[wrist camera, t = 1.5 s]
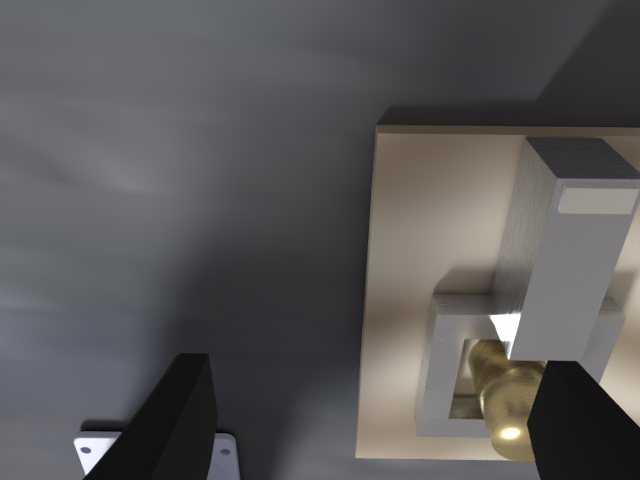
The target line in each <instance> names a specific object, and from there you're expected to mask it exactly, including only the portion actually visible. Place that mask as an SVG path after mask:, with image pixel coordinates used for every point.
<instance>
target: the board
mask: <svg viewBox="0 0 640 480" xmlns="http://www.w3.org/2000/svg"><path fill="white" fill-rule="evenodd" d="M525 137H532V138H602V139H603V140H604V141H605V142H606V143H608V144H609V145H610V146H611V147H612V148H613V149H614V150H615V151H616V152H618V153H619V154H620V155H621V156H622V157H623V158H624V159H625V160H626V161H628V162H629V163H630V164H631V165H632V166H633V167H634V168H635V169H636V170H638V171H639V172H640V128H626V127H540V126H453V125H376V131H375V146H374V161H373V177H372V192H371V207H370V222H369V237H368V253H367V268H366V283H365V298H364V313H363V329H362V344H361V359H360V374H359V389H358V405H357V420H356V435H355V456H356V458H394V459H460V460H509V459H507V458H504V457H502V456H501V455H499V454H498V453H497V452H496V451H495V450H494V448H493V446H492V443H491V440H490V438H465V437H417V433H416V426H415V420H414V409H415V402H416V395H417V389H418V382H419V375H420V368H421V362H422V355H423V348H424V342H425V335H426V328H427V322H428V315H429V308H430V302H431V295H432V294H444V295H490V291H491V286H492V282H493V277H494V273H495V268H496V264H497V259H498V255H499V250H500V246H501V241H502V237H503V232H504V228H505V223H506V219H507V214H508V210H509V205H510V201H511V196H512V192H513V187H514V183H515V178H516V174H517V169H518V165H519V160H520V156H521V151H522V147H523V142H524V138H525ZM605 297H613V299H614V300H615V302H616V303H617V305H618V306H619V307H620V309H621V310H622V312H623V313H624V315H625V316H626V319H625V321H624V324H623V326H622V329H621V331H620V334H619V336H618V339H617V341H616V344H615V346H614V349H613V351H612V353H611V356H610V358H609V361H608V363H607V366H606V368H605V371H604V373H603V376H602V378H601V381H600V383H599V385H600V386H601V387H602V388H603V389H604V390H605V391H606V392H607V393H608V394H609V396H610V397H611V398H612V399H613V400H614V401H615V402H616V403H617V404H618V405H619V406H620V407H621V408H622V409H623V410H624V411H625V412H626V413H627V414H628V416H629V417H630V418H631V419H632V420H633V421H634V422H635V423H636V424H637V425H638V426H639V427H640V201H639V204H638V207H637V210H636V212H635V215H634V218H633V220H632V223H631V226H630V229H629V231H628V234H627V237H626V240H625V242H624V245H623V248H622V250H621V253H620V256H619V259H618V261H617V264H616V267H615V269H614V272H613V275H612V278H611V280H610V283H609V286H608V288H607V291H606V294H605ZM480 340H481V339H464V343H463V348H462V353H461V358H460V363H459V368H458V373H457V378H456V383H455V388H454V393H453V397H469V398H478V396H477V393H476V389H475V386H474V383H473V379H472V376H471V372H470V369H469V366H468V355H469V353H470V351H471V349H472V347H473V346H474V345H475V344H476V343H477V342H478V341H480ZM546 364H547V361H546Z"/></svg>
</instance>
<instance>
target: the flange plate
mask: <svg viewBox="0 0 640 480" xmlns="http://www.w3.org/2000/svg"><path fill="white" fill-rule="evenodd" d="M639 201H640V172H639V171H638V170H636V169H635V168H634V167H633V166H632V165H631V164H630V163H629V162H628V161H626V160H625V159H624V158H623V157H622V156H621V155H620V154H619V153H618V152H616V151H615V150H614V149H613V148H612V147H611V146H610V145H609V144H608V143H606V142H605V141H604V140H603V139H602V138H532V137H525V138H524V142H523V147H522V151H521V156H520V160H519V165H518V169H517V174H516V178H515V183H514V187H513V192H512V196H511V201H510V205H509V210H508V214H507V219H506V223H505V228H504V232H503V237H502V241H501V246H500V250H499V255H498V259H497V264H496V268H495V273H494V277H493V282H492V286H491V291H490V295H444V294H432V295H431V302H430V308H429V315H428V322H427V328H426V335H425V342H424V348H423V355H422V362H421V368H420V375H419V382H418V389H417V395H416V402H415V409H414V420H415V426H416V433H417V437H465V438H490V437H489V433H488V430H487V426H486V423H485V420H484V416H483V413H482V410H481V406H480V403H479V399H478V398H469V397H453V393H454V388H455V383H456V378H457V373H458V368H459V363H460V358H461V353H462V348H463V343H464V339H497V340H501V342H502V345H503V347H504V350H505V352H506V355H507V358H508V360H521V361H548V360H557V361H577V362H578V363H579V364H580V365H581V366H582V367H583V368H584V369H585V370H586V371H587V372H588V373H589V374H590V375H591V376H592V377H593V379H594V380H595V381H596V382H597V383H598V384H599V383H600V381H601V378H602V376H603V373H604V371H605V368H606V366H607V363H608V361H609V358H610V356H611V353H612V351H613V349H614V346H615V344H616V341H617V339H618V336H619V334H620V331H621V329H622V326H623V324H624V321H625V319H626V316H625V315H624V313H623V312H622V310H621V309H620V307H619V306H618V305H617V303H616V302H615V300H614V299H613V297H605V294H606V291H607V288H608V286H609V283H610V280H611V278H612V275H613V272H614V269H615V267H616V264H617V261H618V259H619V256H620V253H621V250H622V248H623V245H624V242H625V240H626V237H627V234H628V231H629V229H630V226H631V223H632V220H633V218H634V215H635V212H636V210H637V207H638V204H639Z"/></svg>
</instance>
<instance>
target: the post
mask: <svg viewBox="0 0 640 480" xmlns="http://www.w3.org/2000/svg"><path fill="white" fill-rule="evenodd" d="M468 366H469V369H470V372H471V376H472V379H473V383H474V386H475V389H476V393H477V396H478V399H479V403H480V406H481V410H482V413H483V416H484V420H485V423H486V426H487V430H488V433H489V437H490V440H491V443H492V446H493V448H494V450H495V451H496V452H497V453H498V454H499V455H501V456H502V457H504V458H507V459H509V460H513V461H519V462H531V461H535V458H534V454H533V450H532V445H531V441H530V436H529V432H528V427H527V421H528V418H529V415H530V412H531V409H532V406H533V403H534V400H535V397H536V394H537V391H538V388H539V385H540V382H541V379H542V376H543V373H544V370H545V367H546V361H521V360H508V358H507V355H506V352H505V350H504V347H503V345H502V342H501V340H497V339H481V340H480V341H478V342H477V343H476V344H475V345H474V346H473V347H472V349H471V351H470V353H469V355H468Z"/></svg>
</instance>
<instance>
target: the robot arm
mask: <svg viewBox="0 0 640 480" xmlns="http://www.w3.org/2000/svg"><path fill="white" fill-rule="evenodd" d="M217 419H218V414H217V408H216V401H215V394H214V388H213V381H212V374H211V368H210V361H209V354H196V353H180V354H179V355H177V356H176V357H175V359H174V360H173V362H172V363H171V365H170V366H169V368H168V369H167V371H166V372H165V374H164V375H163V377H162V378H161V380H160V381H159V383H158V384H157V386H156V387H155V388H154V390H153V391H152V393H151V394H150V395H149V397H148V398H147V400H146V401H145V402H144V404H143V405H142V407H141V408H140V409H139V411H138V412H137V413H136V414H135V416H134V417H133V418H132V420H131V421H130V422H129V424H128V425H127V426H126V428H125V429H124V430H123V431H122V432H99V431H83V432H79V433H77V435H76V437H75V439H74V445H75V447H76V450H77V453H78V455H79V458H80V461H81V464H82V466H83V469H84V472H85V474H86V476H85V477H84V478H83V480H240V473H239V465H238V456H237V448H236V440H235V438H234V437H233V436H232V435H230V434H226V433H216V426H217ZM527 427H528V432H529V436H530V441H531V445H532V450H533V454H534V458H535V462H536V466H537V470H538V473H539V476H540V478H541V480H640V427H639V426H638V425H637V424H636V423H635V422H634V421H633V420H632V419H631V418H630V417H629V416H628V414H627V413H626V412H625V411H624V410H623V409H622V408H621V407H620V406H619V405H618V404H617V403H616V402H615V401H614V400H613V399H612V398H611V397H610V396H609V394H608V393H607V392H606V391H605V390H604V389H603V388H602V387H601V386H600V385H599V384H598V383H597V382H596V381H595V380H594V379H593V377H592V376H591V375H590V374H589V373H588V372H587V371H586V370H585V369H584V368H583V367H582V366H581V365H580V364H579V363H578V362H577V361H557V360H548V361H547V364H546V367H545V370H544V373H543V376H542V379H541V382H540V385H539V388H538V391H537V394H536V397H535V400H534V403H533V406H532V409H531V412H530V415H529V418H528V421H527Z"/></svg>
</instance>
